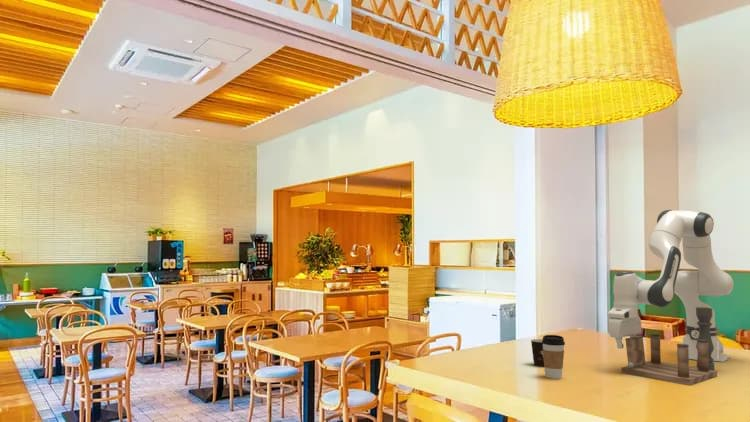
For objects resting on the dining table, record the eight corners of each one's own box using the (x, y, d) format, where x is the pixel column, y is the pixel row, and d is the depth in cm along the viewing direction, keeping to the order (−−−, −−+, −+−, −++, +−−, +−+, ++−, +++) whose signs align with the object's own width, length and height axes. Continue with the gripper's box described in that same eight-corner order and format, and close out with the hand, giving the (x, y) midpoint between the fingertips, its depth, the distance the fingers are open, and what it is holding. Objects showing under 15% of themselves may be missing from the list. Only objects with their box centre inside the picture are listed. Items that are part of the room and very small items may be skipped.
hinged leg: (640, 364, 224) (637, 336, 226) (646, 364, 223) (643, 336, 224) (628, 367, 218) (625, 338, 219) (633, 368, 216) (630, 338, 218)
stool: (651, 365, 235) (650, 332, 236) (717, 376, 216) (716, 340, 217) (621, 372, 219) (620, 337, 220) (689, 385, 200) (688, 346, 201)
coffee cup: (565, 375, 213) (565, 335, 214) (565, 380, 205) (564, 338, 206) (542, 373, 216) (542, 334, 217) (541, 378, 208) (541, 337, 209)
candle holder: (717, 373, 221) (715, 309, 223) (699, 372, 223) (698, 308, 224) (711, 370, 227) (709, 307, 229) (694, 369, 229) (692, 306, 230)
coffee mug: (529, 366, 229) (529, 341, 230) (532, 362, 237) (532, 338, 238) (559, 369, 225) (559, 343, 226) (561, 365, 233) (561, 340, 234)
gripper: (630, 310, 234) (630, 343, 233) (605, 312, 221) (605, 348, 220) (645, 311, 229) (646, 345, 228) (621, 314, 216) (621, 351, 215)
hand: (626, 347), depth 224 cm, fingers open, 8 cm apart
